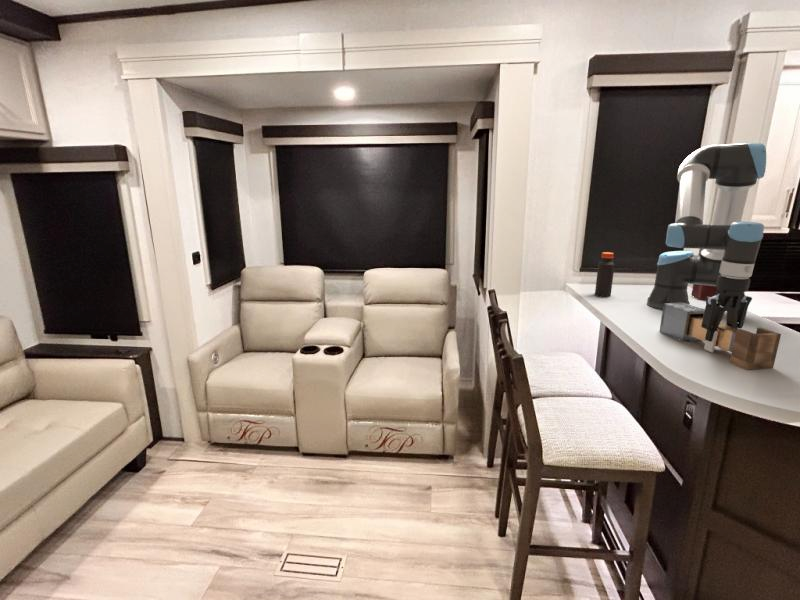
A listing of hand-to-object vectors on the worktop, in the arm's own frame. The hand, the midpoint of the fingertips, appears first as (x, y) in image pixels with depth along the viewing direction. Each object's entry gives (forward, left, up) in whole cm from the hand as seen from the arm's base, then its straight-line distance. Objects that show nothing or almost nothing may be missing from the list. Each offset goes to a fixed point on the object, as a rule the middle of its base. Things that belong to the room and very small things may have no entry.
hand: (715, 349), depth 127 cm
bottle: (-9, -69, -1) cm, 70 cm away
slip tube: (0, -3, +2) cm, 4 cm away
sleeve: (0, -14, 0) cm, 14 cm away
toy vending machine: (-51, -56, -1) cm, 76 cm away
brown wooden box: (0, +11, 0) cm, 11 cm away
